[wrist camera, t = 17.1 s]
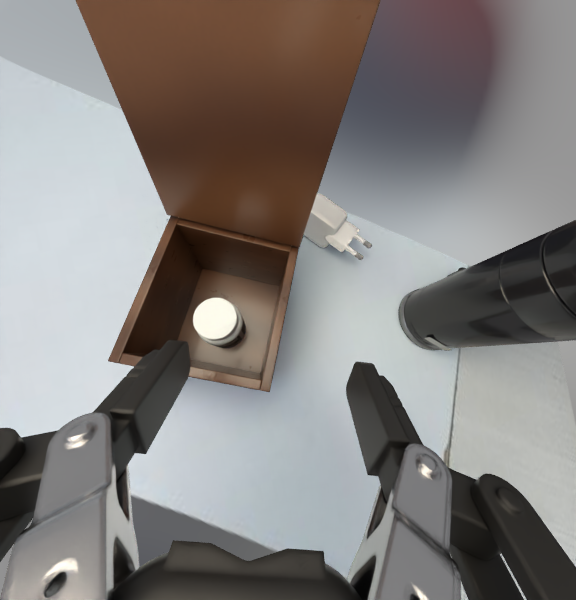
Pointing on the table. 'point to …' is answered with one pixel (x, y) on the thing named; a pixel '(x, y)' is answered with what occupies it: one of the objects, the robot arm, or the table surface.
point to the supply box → (212, 284)
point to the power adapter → (332, 227)
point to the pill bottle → (219, 323)
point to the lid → (233, 100)
